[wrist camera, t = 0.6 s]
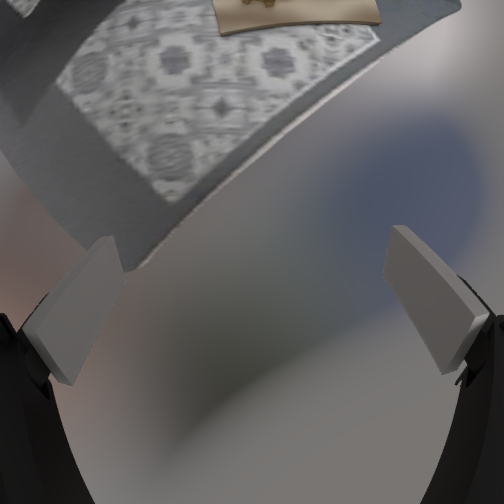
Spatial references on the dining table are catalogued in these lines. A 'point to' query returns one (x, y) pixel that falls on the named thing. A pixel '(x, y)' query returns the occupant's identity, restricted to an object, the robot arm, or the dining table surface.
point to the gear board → (292, 13)
